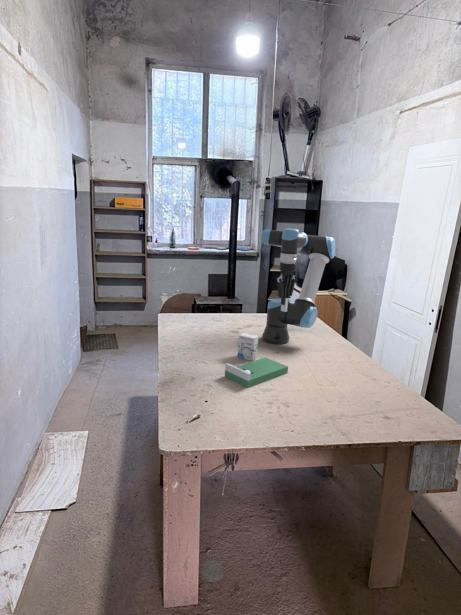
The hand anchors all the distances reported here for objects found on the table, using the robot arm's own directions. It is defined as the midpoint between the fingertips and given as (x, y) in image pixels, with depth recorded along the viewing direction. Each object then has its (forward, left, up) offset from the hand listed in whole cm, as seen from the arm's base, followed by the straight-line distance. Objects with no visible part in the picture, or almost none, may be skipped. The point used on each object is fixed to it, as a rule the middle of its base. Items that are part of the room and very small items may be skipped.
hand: (283, 311), depth 204 cm
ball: (+7, -31, -22) cm, 39 cm away
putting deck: (+7, -24, -24) cm, 35 cm away
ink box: (-10, -13, -25) cm, 30 cm away
